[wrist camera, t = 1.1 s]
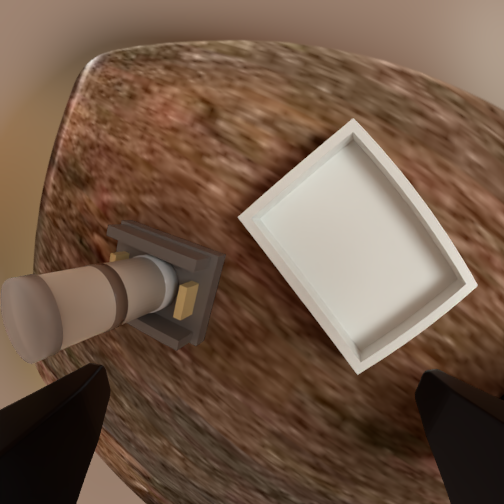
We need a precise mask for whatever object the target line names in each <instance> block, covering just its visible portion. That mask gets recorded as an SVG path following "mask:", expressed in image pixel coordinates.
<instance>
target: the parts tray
mask: <svg viewBox="0 0 504 504" xmlns="http://www.w3.org/2000/svg"><path fill="white" fill-rule="evenodd" d="M238 218H239V220H240V221H241V222H242V223H243V225H244V226H245V227H246V229H247V230H248V231H249V233H250V234H251V235H252V236H253V238H254V239H255V240H256V242H257V243H258V244H259V246H260V247H261V248H262V249H263V251H264V252H265V253H266V255H267V256H268V257H269V259H270V260H271V261H272V262H273V264H274V265H275V266H276V268H277V269H278V270H279V272H280V273H281V274H282V276H283V277H284V278H285V280H286V281H287V282H288V283H289V285H290V286H291V287H292V289H293V290H294V291H295V293H296V294H297V295H298V297H299V298H300V299H301V301H302V302H303V303H304V304H305V306H306V307H307V308H308V310H309V311H310V312H311V314H312V315H313V316H314V318H315V319H316V320H317V322H318V323H319V324H320V326H321V327H322V328H323V330H324V331H325V332H326V334H327V335H328V336H329V337H330V339H331V340H332V341H333V343H334V344H335V345H336V347H337V348H338V349H339V351H340V352H341V353H342V355H343V356H344V357H345V359H346V360H347V361H348V363H349V364H350V365H351V367H352V368H353V369H354V371H355V372H356V373H357V375H358V374H359V373H361V372H363V371H364V370H366V369H368V368H369V367H371V366H372V365H374V364H375V363H377V362H379V361H380V360H382V359H383V358H385V357H386V356H388V355H389V354H391V353H392V352H394V351H395V350H397V349H398V348H400V347H401V346H402V345H404V344H405V343H407V342H408V341H409V340H411V339H412V338H414V337H415V336H416V335H418V334H419V333H421V332H422V331H423V330H425V329H426V328H427V327H429V326H430V325H431V324H432V323H434V322H435V321H436V320H438V319H439V318H440V317H441V316H443V315H444V314H445V313H446V312H448V311H449V310H450V309H451V308H453V307H454V306H455V305H456V304H457V303H459V302H460V301H461V300H462V299H463V298H464V297H466V296H467V295H468V294H469V293H470V292H471V291H472V290H474V289H475V288H476V287H477V286H478V285H477V283H476V281H475V280H474V278H473V276H472V274H471V273H470V271H469V269H468V267H467V266H466V264H465V262H464V261H463V259H462V257H461V256H460V254H459V252H458V251H457V249H456V248H455V246H454V244H453V243H452V241H451V240H450V238H449V237H448V235H447V234H446V232H445V231H444V229H443V228H442V226H441V225H440V223H439V222H438V220H437V219H436V218H435V216H434V215H433V213H432V212H431V210H430V209H429V208H428V206H427V205H426V204H425V202H424V201H423V199H422V198H421V197H420V195H419V194H418V193H417V191H416V190H415V189H414V188H413V186H412V185H411V184H410V182H409V181H408V180H407V179H406V177H405V176H404V175H403V174H402V172H401V171H400V170H399V169H398V167H397V166H396V165H395V164H394V163H393V161H392V160H391V159H390V158H389V157H388V156H387V154H386V153H385V152H384V151H383V150H382V149H381V147H380V146H379V145H378V144H377V143H376V142H375V141H374V140H373V138H372V137H371V136H370V135H369V134H368V133H367V132H366V131H365V130H364V129H363V128H362V127H361V126H360V124H359V123H358V122H357V121H356V120H355V119H354V118H353V119H352V120H351V121H349V122H348V123H347V124H346V125H344V126H343V127H342V128H341V129H340V130H338V131H337V132H336V133H335V134H334V135H332V136H331V137H330V138H329V139H328V140H326V141H325V142H324V143H323V144H322V145H320V146H319V147H318V148H317V149H316V150H314V151H313V152H312V153H311V154H310V155H309V156H307V157H306V158H305V159H304V160H303V161H301V162H300V163H299V164H298V165H297V166H296V167H294V168H293V169H292V170H291V171H290V172H289V173H287V174H286V175H285V176H284V177H283V178H282V179H280V180H279V181H278V182H277V183H276V184H275V185H274V186H272V187H271V188H270V189H269V190H268V191H267V192H266V193H264V194H263V195H262V196H261V197H260V198H259V199H258V200H256V201H255V202H254V203H253V204H252V205H251V206H250V207H249V208H247V209H246V210H245V211H244V212H243V213H242V214H241V215H240V216H238Z"/></svg>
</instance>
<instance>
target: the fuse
mask: <svg viewBox="0 0 504 504" xmlns="http://www.w3.org/2000/svg"><path fill="white" fill-rule="evenodd" d="M178 288H179V282H178V276H177V273H176V270H175V268H174V266H173V265H172V264H171V263H169V262H167V261H165V260H162V259H160V258H157V257H155V256H153V255H150V254H145V255H139V256H135V257H133V258H130V259H125V260H119V261H113V262H108V263H97V264H91V265H86V266H83V267H79V268H74V269H68V270H63V271H58V272H52V273H47V274H41V275H36V274H30V275H25V276H19V277H15V278H9V279H6V280H5V282H4V283H3V285H2V289H1V297H0V301H1V312H2V318H3V322H4V326H5V329H6V332H7V334H8V337H9V339H10V341H11V343H12V345H13V347H14V348H15V350H16V352H17V353H18V354H19V356H21V358H22V359H23V360H24V361H26V362H27V363H31V364H32V363H35V362H38V361H40V360H43V359H45V358H48V357H50V356H52V355H55V354H57V353H58V352H59V351H60V350H62V349H64V348H67V347H69V346H72V345H74V344H76V343H79V342H81V341H84V340H86V339H88V338H91V337H93V336H96V335H98V334H100V333H105V332H107V331H110V330H112V329H115V328H117V327H119V326H120V325H122V324H124V323H127V322H129V321H131V320H134V319H136V318H139V317H141V316H143V315H146V314H148V313H154V312H156V311H159V310H161V309H163V308H165V307H168V306H169V305H171V304H172V303H173V302H174V300H175V298H176V296H177V294H178Z"/></svg>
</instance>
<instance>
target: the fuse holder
mask: <svg viewBox="0 0 504 504" xmlns="http://www.w3.org/2000/svg"><path fill="white" fill-rule="evenodd" d="M107 236H109V237H111V238H114V239H116V240H118V244H117V250H116V252H114V253H111V255H110V261H109V262H113V261H119V260H125V259H130V258H133V257H135V256H139V255H145V254H150V255H153V256H155V257H157V258H160V259H162V260H165V261H167V262H169V263H171V264H172V265H173V266H174V268H175V270H176V273H177V276H178V282H179V288H178V294H177V296H176V298H175V300H174V302H173V303H172V304H171V305H169V306H168V307H165V308H163V309H161V310H159V311H156V312H154V313H148V314H146V315H143V316H141V317H139V318H136V319H134V320H131V321H129V322H127V323H128V324H129V325H131V326H133V327H135V328H136V329H138V330H140V331H141V332H143V333H145V334H147V335H149V336H150V337H152V338H154V339H156V340H158V341H159V342H161V343H163V344H165V345H167V346H169V347H171V348H173V349H174V350H176V351H177V350H179V349H180V348H182V347H183V346H185V345H186V344H187V343H191V344H193V345H195V346H197V345H199V344H200V343H201V342H203V341H204V338H205V334H206V330H207V326H208V322H209V318H210V314H211V310H212V306H213V302H214V298H215V294H216V290H217V286H218V283H219V279H220V275H221V271H222V267H223V263H224V260H225V256H226V255H225V254H223V253H220V252H217V251H214V250H212V249H209V248H206V247H203V246H200V245H198V244H195V243H192V242H190V241H187V240H184V239H181V238H179V237H176V236H173V235H170V234H168V233H165V232H162V231H160V230H157V229H154V228H151V227H149V226H146V225H143V224H141V223H138V222H135V221H132V220H122V222H121V225H108V229H107Z"/></svg>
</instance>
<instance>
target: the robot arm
mask: <svg viewBox="0 0 504 504" xmlns="http://www.w3.org/2000/svg"><path fill="white" fill-rule="evenodd" d="M109 398H110V385H109V381H108V377H107V373H106V369H105V367H104V366H103V365H99V364H94V363H89V364H87V365H85V366H83V367H81V368H79V369H78V370H76V371H74V372H72V373H70V374H68V375H66V376H64V377H62V378H61V379H59V380H57V381H55V382H53V383H51V384H49V385H47V386H45V387H44V388H41V389H40V390H38V391H36V392H34V393H32V394H30V395H28V396H26V397H24V398H22V399H20V400H18V401H16V402H14V403H13V404H11V405H8V406H6V407H4V408H3V409H1V410H0V504H76V502H77V500H78V497H79V494H80V491H81V488H82V485H83V482H84V479H85V476H86V473H87V470H88V468H89V465H90V462H91V459H92V457H93V454H94V451H95V449H96V446H97V443H98V440H99V436H100V433H101V429H102V425H103V421H104V417H105V413H106V409H107V405H108V401H109ZM415 400H416V403H417V406H418V409H419V413H420V416H421V420H422V423H423V426H424V430H425V433H426V437H427V440H428V442H429V445H430V447H431V450H432V453H433V455H434V458H435V460H436V463H437V466H438V468H439V471H440V474H441V477H442V479H443V482H444V485H445V488H446V491H447V494H448V497H449V500H450V503H451V504H504V396H503V397H502V398H500V399H499V398H497V397H494V396H492V395H490V394H488V393H486V392H484V391H482V390H480V389H478V388H475V387H473V386H471V385H469V384H467V383H465V382H463V381H461V380H459V379H457V378H455V377H453V376H451V375H448V374H446V373H444V372H442V371H440V370H438V369H432V370H427V371H425V372H424V373H423V375H422V377H421V380H420V382H419V385H418V387H417V389H416V392H415Z"/></svg>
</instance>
